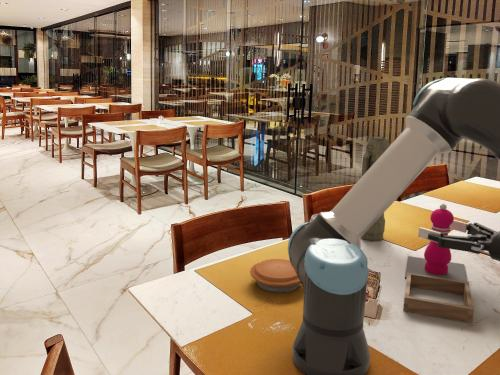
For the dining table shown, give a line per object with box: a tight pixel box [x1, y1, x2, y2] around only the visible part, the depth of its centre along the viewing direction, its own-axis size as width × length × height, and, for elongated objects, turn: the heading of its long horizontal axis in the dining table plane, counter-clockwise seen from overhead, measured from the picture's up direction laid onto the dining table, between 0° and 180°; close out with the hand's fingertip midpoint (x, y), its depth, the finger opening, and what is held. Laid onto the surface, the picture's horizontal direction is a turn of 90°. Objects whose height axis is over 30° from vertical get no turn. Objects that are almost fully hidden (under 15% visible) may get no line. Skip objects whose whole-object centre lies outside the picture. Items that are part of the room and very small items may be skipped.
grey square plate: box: [404, 255, 468, 282], centre depth 129 cm, size 16×16×1 cm
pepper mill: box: [423, 203, 455, 275], centre depth 126 cm, size 7×7×20 cm
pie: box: [249, 258, 302, 294], centre depth 121 cm, size 15×16×5 cm
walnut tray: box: [402, 272, 475, 324], centre depth 112 cm, size 15×15×4 cm
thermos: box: [361, 136, 390, 243], centre depth 152 cm, size 9×12×35 cm
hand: (432, 226), depth 128 cm, fingers open, 13 cm apart
